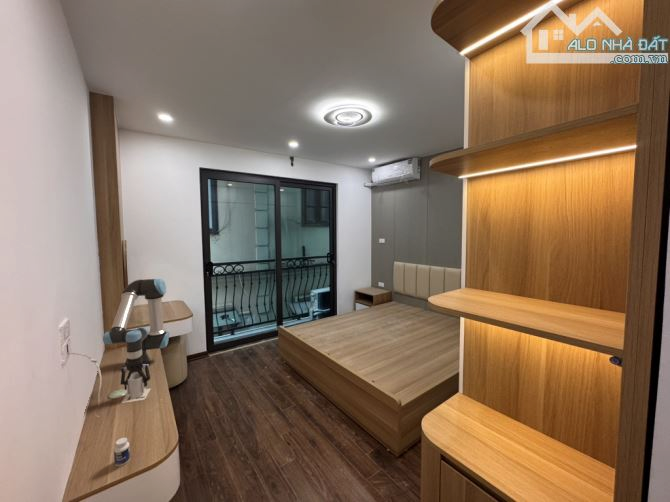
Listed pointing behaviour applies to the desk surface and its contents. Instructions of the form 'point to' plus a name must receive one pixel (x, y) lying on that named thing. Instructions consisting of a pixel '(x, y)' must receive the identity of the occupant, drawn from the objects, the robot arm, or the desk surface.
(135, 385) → the cup
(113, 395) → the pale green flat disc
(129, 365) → the robot arm
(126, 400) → the tile
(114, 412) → the desk surface
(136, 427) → the desk surface
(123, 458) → the pill bottle
